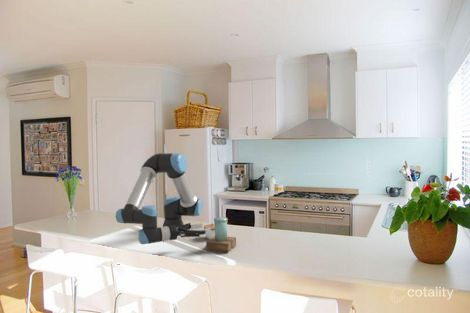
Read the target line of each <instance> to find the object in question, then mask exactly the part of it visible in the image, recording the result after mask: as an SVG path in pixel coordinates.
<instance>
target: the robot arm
mask: <svg viewBox="0 0 470 313" xmlns="http://www.w3.org/2000/svg"><path fill="white" fill-rule="evenodd" d="M187 168H188V163H187V159H186V156H185V155H184V154H182V153H177V152H173V153H171V152H169V153H164V152H163V153H160V152H159V153H155V154H153V155H151V156H150V157H149V158H147V159H146V160H145V161H144V163H143V164H142V165H141V168H140V174H139V176H138V177H137V180H136V182H135V184H134V187H133V188H132V191H131V193H130V195H129V197H128V198H127V201H126V203H125V205H124V207H123V208H118V209H117V210H116V213H115V221H116V222H117V223H121V224H124V225H125V224H135V225H137V224H138V225H142V227H141V228H142V229H139V230H138V234H137V236H138V237H137V238H138V242H139V244H141V245H146V244H148V245H149V244H155V243H159V242H160V243H161V242H162V243H164V242H168V241H174V240H175V241H176V240H177V239H178V237H179V236H180V238H189V237H193V238H196V237H197V238H200V236H202V235H204V236H205V234H210V233H211V228H208V229H204V228H203V222H197V223H191V222H188V223H185V224H184V221H183V219H182V216H184V217H199V216H200V215H201V213H202V209H203V200H202V199H201V198H198V197H197V196H196V194H194V193H193V191H192V187H191V186H190V183H189V181H188V178H187V175H186V174H185V173H186V171H187ZM159 173H164V174H166V176H167V177H168V178H169V179H171V181H172V182H173V185H174V187H175V189H176V191H177V194H178V195H176V196H169V197H166V198H164V199H163V213H164V220H163V223H162V226H161V227H160V226H158V212H157V207H156V206H155V205H151V204H150V205H149V204H148V205H143V206H142V207H141V205H142V203H143V200H144V199H145V196H146V194H147V192H148V190H149V188H150V185H151V184H152V181H153V179H155V177H156V176H157V175H158V174H159ZM140 207H141V209H140ZM196 229H198V230H196Z"/></svg>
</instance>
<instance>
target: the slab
mask: <svg viewBox="0 0 470 313" xmlns="http://www.w3.org/2000/svg"><path fill="white" fill-rule="evenodd" d="M235 247H237V236H236V237H233V236H227V240H226V241H222V242H218V241H215V236H214V237H213V238H212V239H208V240H207V241H206V249H205V250H206V252H212V251H216V252H215V253H222V252H229V251H230V250H231V249H232V250H234V249H235ZM232 250H231V251H232ZM231 251H230V252H231ZM230 252H229V253H230Z"/></svg>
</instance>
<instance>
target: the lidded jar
mask: <svg viewBox="0 0 470 313" xmlns="http://www.w3.org/2000/svg"><path fill="white" fill-rule="evenodd" d="M208 228H211V233H210V234H204V236H205V237H206V238H207V240H210V239H212V238H213V237H214V236H215V223H210V224H205V225H204V226H203V229H208Z"/></svg>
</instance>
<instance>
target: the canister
mask: <svg viewBox="0 0 470 313" xmlns="http://www.w3.org/2000/svg"><path fill="white" fill-rule="evenodd" d="M213 222H214V224H215V241H218V242H222V241H226V240H227V237H228V217H223V216H221V217H220V216H219V217H214V218H213Z"/></svg>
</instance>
